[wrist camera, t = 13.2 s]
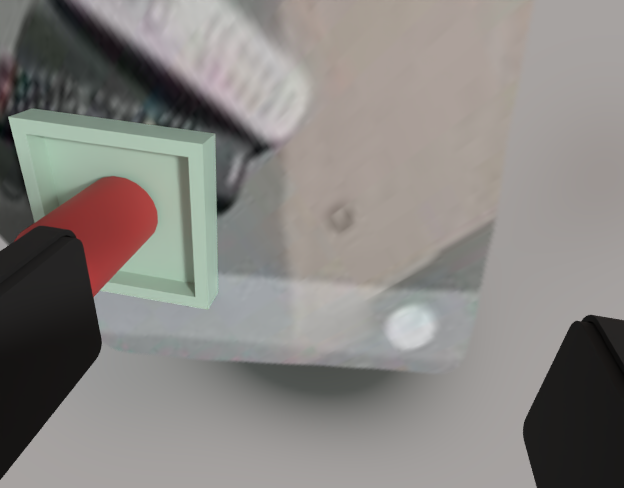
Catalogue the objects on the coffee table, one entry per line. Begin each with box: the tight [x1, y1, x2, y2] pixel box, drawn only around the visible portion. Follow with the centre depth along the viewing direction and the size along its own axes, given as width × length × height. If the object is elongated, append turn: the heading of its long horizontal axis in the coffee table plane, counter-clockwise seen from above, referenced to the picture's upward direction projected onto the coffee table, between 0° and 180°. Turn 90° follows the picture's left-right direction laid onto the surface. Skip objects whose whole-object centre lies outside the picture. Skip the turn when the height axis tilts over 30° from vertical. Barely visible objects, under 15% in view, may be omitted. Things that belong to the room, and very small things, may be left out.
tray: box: [8, 108, 218, 310], centre depth 41 cm, size 16×16×3 cm
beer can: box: [14, 176, 158, 297], centre depth 36 cm, size 7×7×12 cm
